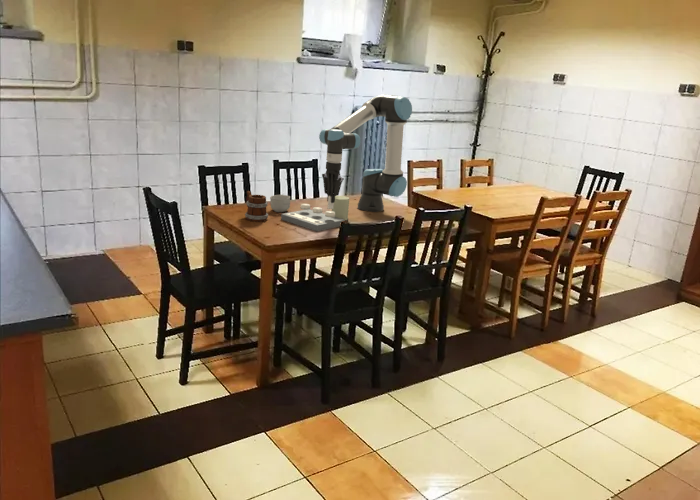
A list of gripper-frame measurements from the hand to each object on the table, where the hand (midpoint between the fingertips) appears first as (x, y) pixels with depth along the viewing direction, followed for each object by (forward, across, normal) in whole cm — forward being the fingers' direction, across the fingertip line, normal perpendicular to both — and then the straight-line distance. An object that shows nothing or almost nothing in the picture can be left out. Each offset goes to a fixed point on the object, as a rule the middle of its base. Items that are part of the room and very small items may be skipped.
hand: (330, 208), depth 298 cm
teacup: (+9, -37, 0) cm, 38 cm away
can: (+9, -7, +15) cm, 19 cm away
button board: (+9, -9, -3) cm, 13 cm away
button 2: (+4, 0, 0) cm, 4 cm away
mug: (+9, -31, -23) cm, 40 cm away
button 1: (+4, -18, 0) cm, 18 cm away
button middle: (+4, -9, 0) cm, 10 cm away
